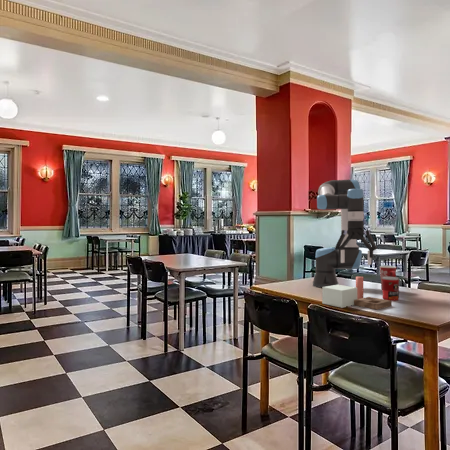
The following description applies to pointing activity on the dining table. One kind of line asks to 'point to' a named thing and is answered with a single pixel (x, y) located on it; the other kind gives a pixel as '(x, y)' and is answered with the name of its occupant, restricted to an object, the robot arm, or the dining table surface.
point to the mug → (387, 272)
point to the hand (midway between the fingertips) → (355, 263)
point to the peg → (359, 287)
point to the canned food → (390, 288)
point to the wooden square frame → (373, 303)
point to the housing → (339, 295)
